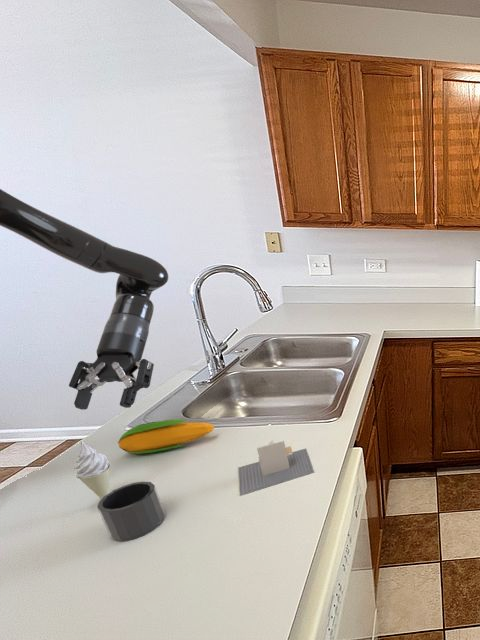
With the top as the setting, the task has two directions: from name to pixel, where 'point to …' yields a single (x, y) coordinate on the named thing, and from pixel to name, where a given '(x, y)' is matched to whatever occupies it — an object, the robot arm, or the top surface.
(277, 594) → the top surface
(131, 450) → the corn
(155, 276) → the robot arm
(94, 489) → the ice cream cone
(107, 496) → the cone holder
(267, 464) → the architectural model
